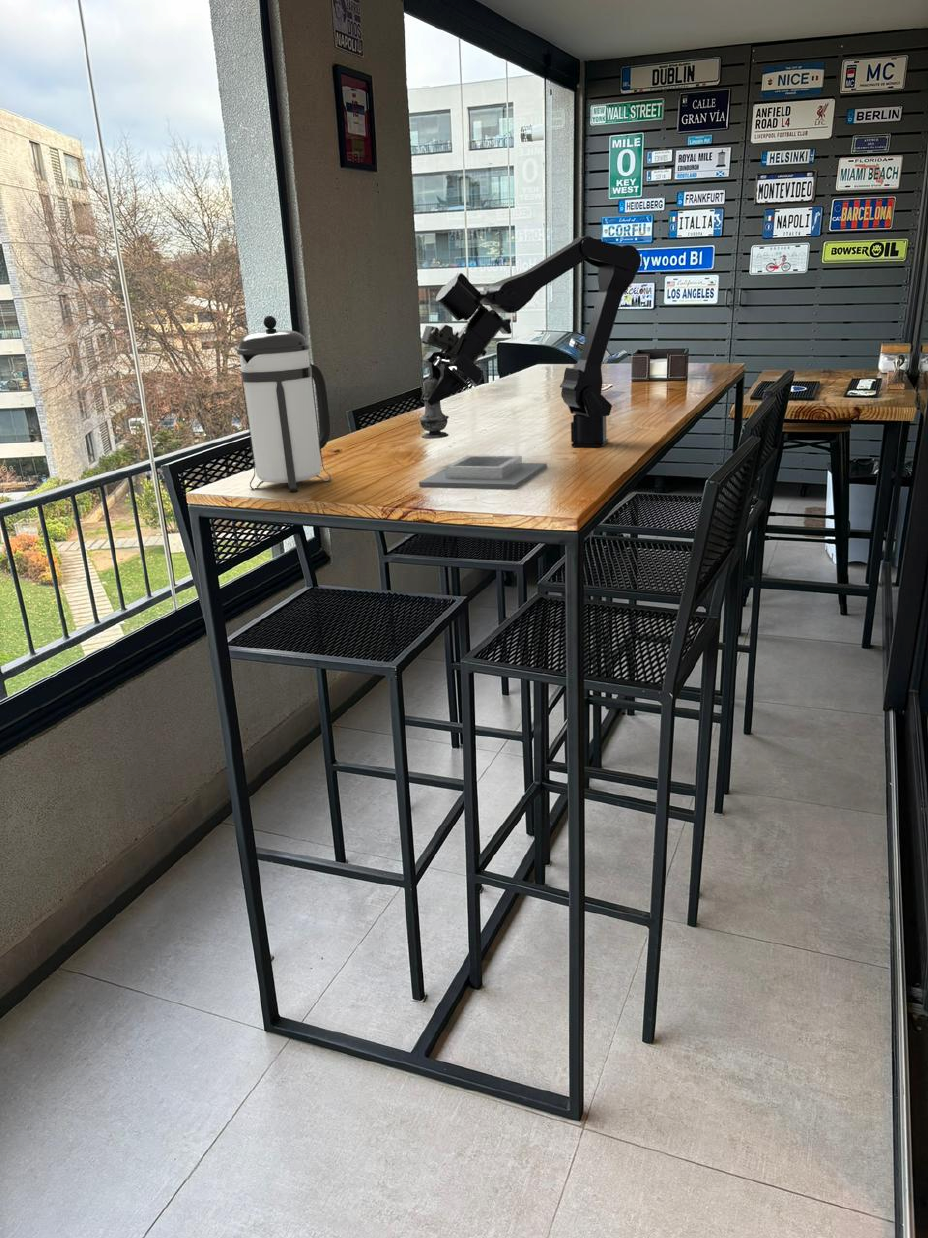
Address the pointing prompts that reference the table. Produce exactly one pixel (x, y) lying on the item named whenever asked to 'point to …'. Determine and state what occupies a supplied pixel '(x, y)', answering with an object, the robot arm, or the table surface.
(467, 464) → the socket collar
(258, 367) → the coffee press
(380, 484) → the table surface
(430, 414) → the salt shaker
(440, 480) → the socket board
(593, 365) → the robot arm
